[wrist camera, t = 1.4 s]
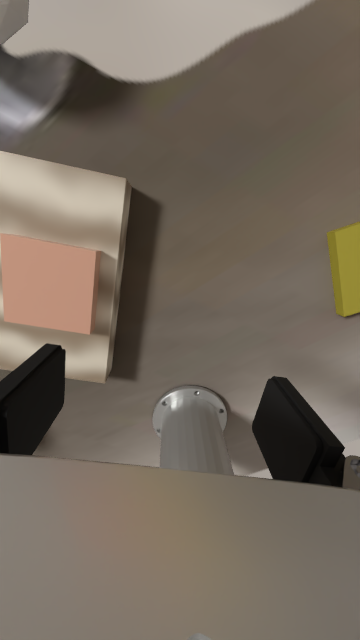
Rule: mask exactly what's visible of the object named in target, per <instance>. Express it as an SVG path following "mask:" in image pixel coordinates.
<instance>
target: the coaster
mask: <svg viewBox="0 0 360 640" xmlns="http://www.w3.org/2000/svg"><path fill="white" fill-rule="evenodd" d="M0 242H1V264H2V286H3V308H4V321H5V322H11V323H18V324H24V325H31V326H37V327H43V328H50V329H56V330H63V331H69V332H76V333H82V334H88V335H90V334H91V333H92V332H93V331H94V329H95V321H96V308H97V296H98V284H99V271H100V259H101V251H100V250H95V249H90V248H85V247H79V246H74V245H69V244H63V243H58V242H53V241H48V240H42V239H37V238H32V237H26V236H21V235H16V234H6V233H0Z"/></svg>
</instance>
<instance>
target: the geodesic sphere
mask: <svg viewBox="0 0 360 640" xmlns="http://www.w3.org/2000/svg"><path fill="white" fill-rule="evenodd" d="M28 5H29V0H0V45H1V44H3V43H4V42H5V41H7V40H8V39H9V38H10V37H11V36H12V35H14V34H15V33H16V32H17V31H18V30H19V29H21V28H22V27H23V26H24V25H25V24H26V23H27V22H28Z"/></svg>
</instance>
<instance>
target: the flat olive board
mask: <svg viewBox="0 0 360 640" xmlns="http://www.w3.org/2000/svg"><path fill="white" fill-rule="evenodd" d="M327 238H328V246H329V255H330V263H331V271H332V280H333V288H334V297H335V305H336V313H337V314H339V315H341V316H343V317H345V316H349V315H352V314H355V313H358V312H360V222H357V223H354V224H351V225H348V226H345V227H342V228H339V229H336V230H333V231H330V232H327Z"/></svg>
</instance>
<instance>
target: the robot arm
mask: <svg viewBox="0 0 360 640" xmlns="http://www.w3.org/2000/svg"><path fill="white" fill-rule="evenodd" d="M65 361H66V351H65V349H62V346H61V345H56V344H49V343H46V344H45V345H44V346H42V347H41V348H40V349H39V350H38V351H36V352H35V353H34V354H33V355H32V356H30V357H29V358H28V359H27V360H25V361H24V362H23V363H22V364H21V365H19V366H18V367H17V368H16V369H15V370H13V371H12V372H11V373H10V374H9V375H7V376H6V377H5V378H4V379H3V380H1V381H0V640H360V457H358V456H351V455H350V456H348V457H346V458H345V456H344V455H343V454H342V452H343V451H344V449H345V447H344V446H343V445H342V443H341V442H340V441H339V440H338V439H337V437H336V436H335V435H334V434H333V433H332V432H331V430H330V429H329V428H328V427H327V426H326V424H325V423H324V422H323V421H322V420H321V418H320V417H319V416H318V415H317V414H316V412H315V411H314V410H313V409H312V408H311V407H310V405H309V404H308V403H307V402H306V401H305V399H304V398H303V397H302V396H301V395H300V393H299V392H298V391H297V390H296V389H295V387H294V386H293V385H292V384H291V383H290V381H289V380H288V379H287V378H283V377H276V376H273V377H272V378H271V379H268V381H267V384H266V386H265V389H264V392H263V395H262V398H261V401H260V404H259V407H258V409H257V412H256V415H255V418H254V421H253V424H252V430H253V433H254V436H255V438H256V440H257V443H258V445H259V447H260V450H261V452H262V454H263V457H264V459H265V461H266V464H267V466H268V468H269V471H270V473H271V475H272V478H273V479H266V478H256V477H248V476H238V475H234V472H233V469H232V465H231V461H230V458H229V454H228V450H227V447H226V443H225V439H224V436H223V431H224V429H225V427H226V423H227V412H226V408H225V406H224V403H223V401H222V400H221V399H220V397H219V396H218V395H217V394H215V393H214V392H212V391H211V390H209V389H207V388H204V387H200V386H182V387H178V388H175V389H173V390H171V391H169V392H167V393H166V394H165V395H164V396H162V397H161V399H160V400H159V401H158V402H157V404H156V406H155V408H154V412H153V427H154V430H155V432H156V434H157V435H158V437H159V438H160V439H161V449H160V467H150V466H140V465H130V464H119V463H109V462H98V461H88V460H77V459H66V458H56V457H45V456H35V455H32V454H33V452H34V451H35V449H36V448H37V446H38V445H39V443H40V442H41V440H42V438H43V437H44V435H45V434H46V432H47V431H48V429H49V428H50V426H51V424H52V423H53V421H54V420H55V418H56V417H57V415H58V414H59V412H60V410H61V409H62V407H63V404H64V391H65Z"/></svg>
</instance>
